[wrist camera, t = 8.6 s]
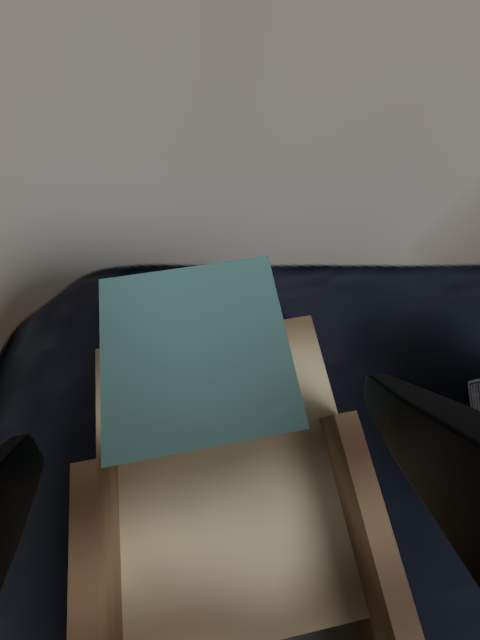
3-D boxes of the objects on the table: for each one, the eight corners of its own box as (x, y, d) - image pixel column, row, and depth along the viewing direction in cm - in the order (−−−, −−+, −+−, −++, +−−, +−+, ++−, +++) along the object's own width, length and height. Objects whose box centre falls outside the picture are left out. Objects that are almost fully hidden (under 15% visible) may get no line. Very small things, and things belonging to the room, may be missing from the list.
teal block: (266, 434, 15) (309, 428, 7) (175, 451, 15) (101, 468, 6) (250, 347, 17) (267, 256, 8) (167, 360, 16) (98, 279, 8)
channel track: (417, 775, 13) (523, 968, 8) (125, 861, 12) (56, 1136, 7) (301, 329, 20) (322, 296, 15) (112, 360, 19) (72, 334, 14)
